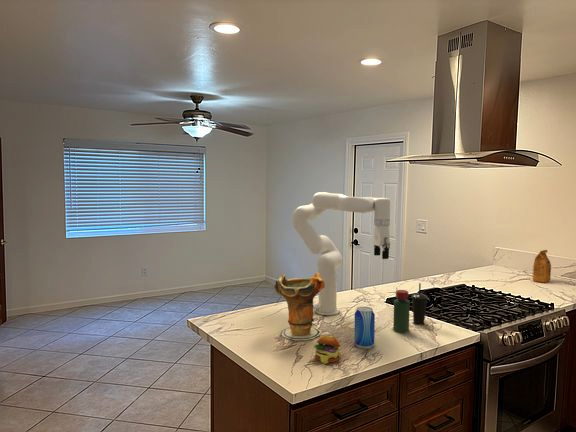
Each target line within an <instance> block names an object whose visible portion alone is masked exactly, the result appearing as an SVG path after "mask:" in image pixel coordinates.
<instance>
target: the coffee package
mask: <svg viewBox="0 0 576 432" xmlns="http://www.w3.org/2000/svg"><path fill="white" fill-rule="evenodd" d="M548 252H549V250H547V249H543V250H540V251H539V253H538V254H537V255H536V256H535V257H534V261H533V265H532V282H537V283H548V282H550V280H551V277H552V276H551V275H552V273H551V272H552V263H551V261H550V259H549V257H548V255H547V253H548Z"/></svg>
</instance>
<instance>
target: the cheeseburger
mask: <svg viewBox="0 0 576 432" xmlns="http://www.w3.org/2000/svg"><path fill="white" fill-rule="evenodd" d="M313 347H314V350H315V358H316V359H317V360H318V361H320V362H321V364H328V363H333V362H337V361H339V359H340V356H341V349H340V347H342V346H341V344H340V341H339V339H338V338H337V337H333V336H330V335H321V336H320V337H319V338H318V339H317V344H314V346H313Z"/></svg>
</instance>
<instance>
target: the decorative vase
mask: <svg viewBox="0 0 576 432" xmlns="http://www.w3.org/2000/svg"><path fill="white" fill-rule="evenodd" d="M324 286H325V284H324V281H323V280H322V279H321V278H320V274H319V273H318V272H315V274H313V276H311V277H296V278H295V277H293V278H288V279H287V278H286V274H281V275H280V276H279V278H278V279H276V280H275V284H274V286H273V288H274V292H275V293H276V294H278V295H280V296H282V298H284V299H285V301H286V304H287V311H288V319H287V320H288V321H287V322H288V325H289V327H288V328H286V329H285V330H283V331H282V333H281V335H282V336H281V337H284V338H285V339H289V340H293V341H307V340H312V339H315V338H316V337H319V336H320V335H321V332H322V331H321V330H320V329H319V328H317V327H313V322H315V319H314V309H313V305H314V298H315V297H316V296H317V294H319V292H320V291H321V289H322V288H324ZM315 325H317V323H316V322H315Z"/></svg>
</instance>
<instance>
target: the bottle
mask: <svg viewBox="0 0 576 432" xmlns="http://www.w3.org/2000/svg"><path fill="white" fill-rule="evenodd" d="M410 304H411V301H410V300H409V299H403V296H402V299H398V298H395V299H393V327H392V328H393V329H392V331H394V332H395V333H400V334H405V333H409V332H410V308H411V307H410Z"/></svg>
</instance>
